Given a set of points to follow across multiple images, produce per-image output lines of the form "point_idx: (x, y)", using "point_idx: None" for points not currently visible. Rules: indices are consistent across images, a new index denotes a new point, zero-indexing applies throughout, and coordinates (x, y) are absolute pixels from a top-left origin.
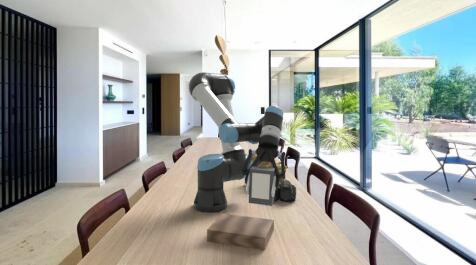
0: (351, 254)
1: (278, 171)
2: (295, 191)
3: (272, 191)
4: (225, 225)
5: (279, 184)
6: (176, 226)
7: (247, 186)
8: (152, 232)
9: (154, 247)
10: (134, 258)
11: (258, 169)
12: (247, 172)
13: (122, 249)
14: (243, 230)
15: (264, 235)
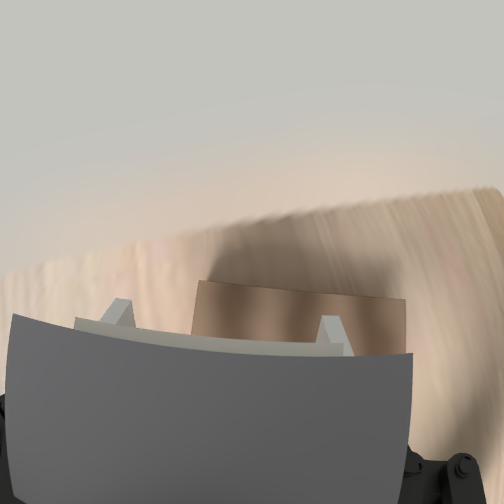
0: (4, 299)
1: (1, 458)
2: None
3: (119, 308)
4: (362, 352)
5: None
6: (479, 367)
7: (337, 336)
8: (500, 311)
9: (463, 243)
10: (461, 197)
11: (253, 381)
12: (408, 458)
13: (493, 225)
14: (287, 324)
15: (202, 296)
